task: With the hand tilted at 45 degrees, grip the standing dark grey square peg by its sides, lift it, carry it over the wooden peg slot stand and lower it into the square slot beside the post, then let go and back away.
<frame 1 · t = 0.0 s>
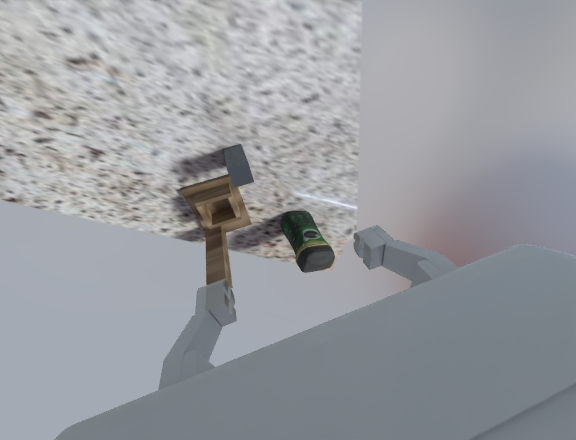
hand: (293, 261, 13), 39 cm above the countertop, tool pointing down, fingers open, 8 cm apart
wooden peg slot stand: (220, 206, 54), on the countertop
dark grey square peg: (235, 155, 46), on the countertop
coffee jar: (295, 219, 65), on the countertop
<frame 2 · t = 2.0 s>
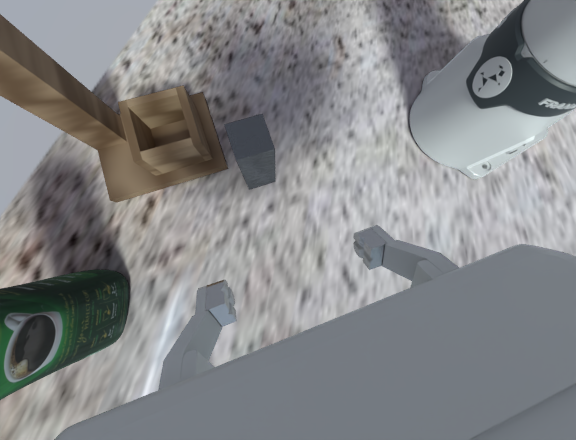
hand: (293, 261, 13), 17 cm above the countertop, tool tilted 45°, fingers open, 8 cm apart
wooden peg slot stand: (163, 147, 30), on the countertop
dark grey square peg: (258, 173, 31), on the countertop
coffee jar: (101, 306, 27), on the countertop
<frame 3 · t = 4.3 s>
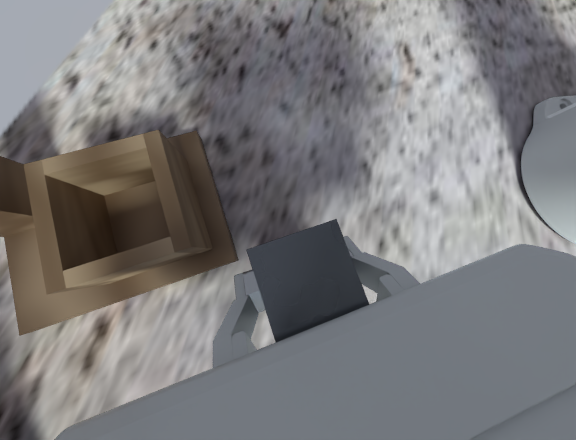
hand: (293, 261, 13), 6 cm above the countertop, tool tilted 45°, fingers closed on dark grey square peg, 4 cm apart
wooden peg slot stand: (127, 224, 18), on the countertop
dark grey square peg: (289, 266, 18), on the countertop, touching gripper
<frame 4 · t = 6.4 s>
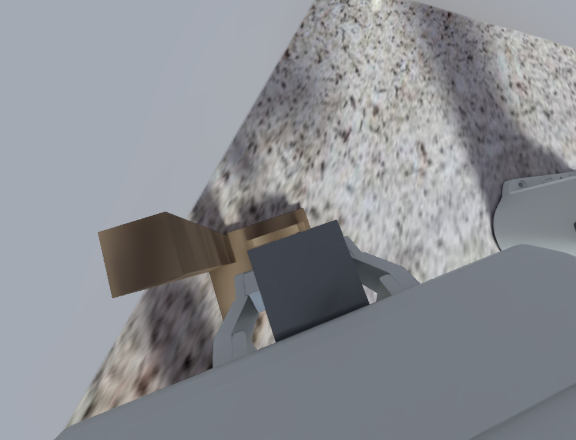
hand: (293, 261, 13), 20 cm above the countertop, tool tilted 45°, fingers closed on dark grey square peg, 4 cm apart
wooden peg slot stand: (266, 262, 31), on the countertop
dark grey square peg: (289, 266, 18), point 14 cm above the countertop, touching gripper
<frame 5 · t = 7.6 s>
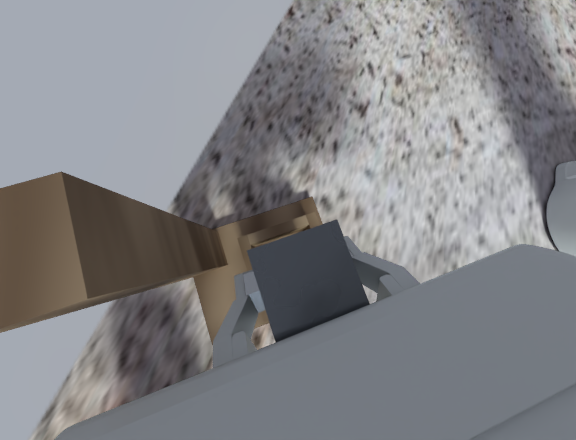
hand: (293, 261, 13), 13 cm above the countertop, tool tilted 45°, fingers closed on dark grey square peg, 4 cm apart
wooden peg slot stand: (266, 265, 25), on the countertop
dark grey square peg: (289, 266, 18), point 7 cm above the countertop, touching gripper
when the fingers open (9 cm above the countertop, at t = 8.7 s): dark grey square peg drops 2 cm, resting on wooden peg slot stand.
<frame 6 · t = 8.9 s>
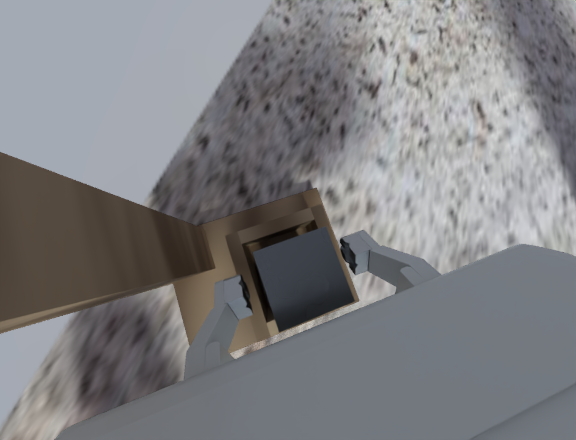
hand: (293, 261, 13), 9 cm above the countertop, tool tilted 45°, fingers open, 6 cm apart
wooden peg slot stand: (261, 268, 21), on the countertop
dark grey square peg: (288, 265, 20), point 1 cm above the countertop, touching wooden peg slot stand
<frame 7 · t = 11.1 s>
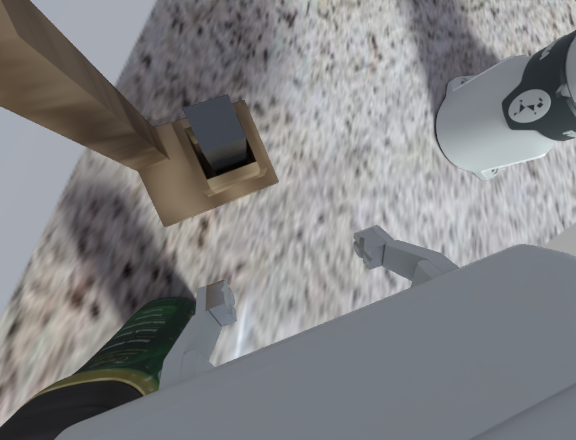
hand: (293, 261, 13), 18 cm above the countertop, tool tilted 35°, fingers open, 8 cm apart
wooden peg slot stand: (207, 163, 29), on the countertop
dark grey square peg: (226, 158, 28), point 1 cm above the countertop, touching wooden peg slot stand
coffee jar: (172, 331, 28), on the countertop
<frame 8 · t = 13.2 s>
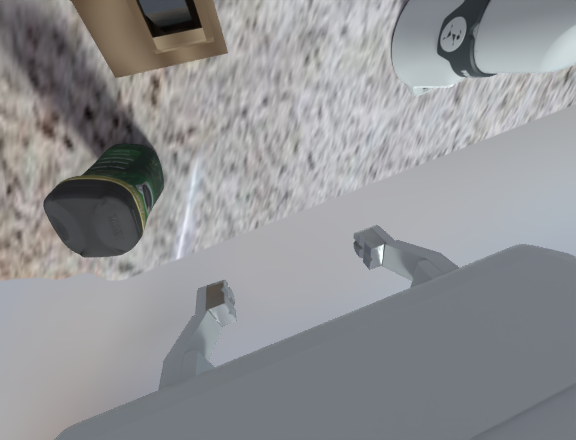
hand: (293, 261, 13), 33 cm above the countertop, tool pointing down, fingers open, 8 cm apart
wooden peg slot stand: (151, 8, 27), on the countertop
dark grey square peg: (171, 8, 27), point 1 cm above the countertop, touching wooden peg slot stand
coffee jar: (138, 170, 37), on the countertop
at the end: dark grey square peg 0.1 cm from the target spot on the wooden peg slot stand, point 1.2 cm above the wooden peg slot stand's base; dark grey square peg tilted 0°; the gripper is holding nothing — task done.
